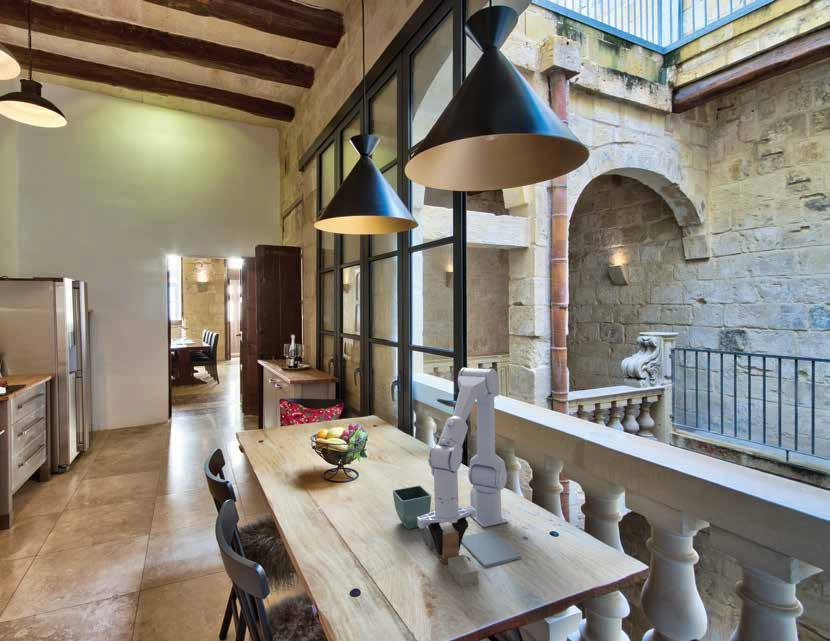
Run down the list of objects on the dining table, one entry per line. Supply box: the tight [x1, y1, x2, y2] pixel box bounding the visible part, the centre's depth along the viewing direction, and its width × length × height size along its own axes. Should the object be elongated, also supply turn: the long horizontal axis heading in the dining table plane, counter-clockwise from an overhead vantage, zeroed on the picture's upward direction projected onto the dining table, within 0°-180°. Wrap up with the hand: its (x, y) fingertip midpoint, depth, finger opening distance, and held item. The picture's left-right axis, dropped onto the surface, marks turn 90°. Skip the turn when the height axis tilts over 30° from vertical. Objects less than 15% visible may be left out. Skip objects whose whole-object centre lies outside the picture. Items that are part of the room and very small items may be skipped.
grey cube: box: [422, 522, 447, 551], centre depth 115 cm, size 5×5×5 cm
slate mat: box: [461, 529, 522, 568], centre depth 112 cm, size 14×10×1 cm
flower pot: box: [392, 485, 432, 530], centre depth 126 cm, size 9×9×9 cm
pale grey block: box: [447, 554, 479, 588], centre depth 100 cm, size 7×4×3 cm, turn 20°
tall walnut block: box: [436, 523, 460, 565], centre depth 108 cm, size 4×4×7 cm
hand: (447, 551), depth 108 cm, fingers closed on tall walnut block, 4 cm apart
